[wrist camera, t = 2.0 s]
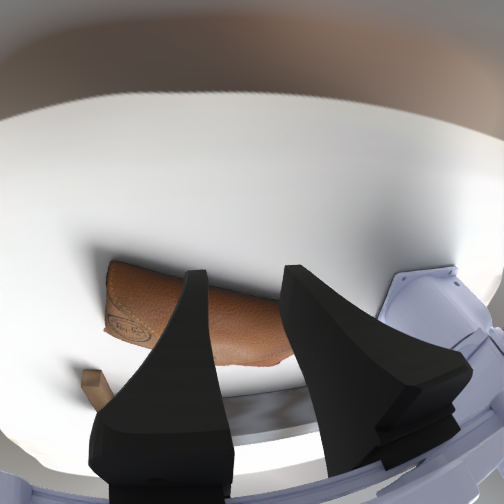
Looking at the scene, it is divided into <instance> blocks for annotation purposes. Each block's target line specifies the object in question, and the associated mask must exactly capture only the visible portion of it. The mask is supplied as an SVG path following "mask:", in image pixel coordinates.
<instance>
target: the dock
mask: <svg viewBox="0 0 504 504" xmlns="http://www.w3.org/2000/svg"><path fill="white" fill-rule="evenodd" d="M81 387H82V389H83V391H84V392H85V394H86V396H87V397H88V399H89V401H90V402H91V404H92V405H93V407H94V409H95V410H96V412H98V411H100V410H101V409H102V408H103V407H104V406H105V405H106V404H107V403H108V402H109V401H110V400H111V399H112V398H113V397H114V395H113V393H112V391H111V389H110V387H109V385H108V383H107V381H106V379H105V377H104V374H103V372H102V371H97V370H84V371H83V376H82V382H81ZM222 400H223V404H224V408H225V412H226V416H227V420H228V423H229V427H230V431H231V437H232V442H233V446H240V445H248V444H255V443H261V442H267V441H273V440H279V439H284V438H289V437H294V436H299V435H304V434H308V433H313V432H317V431H319V427H318V423H317V419H316V415H315V411H314V408H313V404H312V401H311V397H310V394H309V390H308V387H307V386H306V387H300V388H295V389H289V390H283V391H276V392H270V393H262V394H255V395H247V396H238V397H229V398H222Z"/></svg>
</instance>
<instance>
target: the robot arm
mask: <svg viewBox="0 0 504 504" xmlns="http://www.w3.org/2000/svg"><path fill="white" fill-rule="evenodd" d="M457 272H458V268H457V267H456V266H454V267H446V268H437V269H429V270H420V271H411V272H402V273H398V274H396V275H395V277H394V279H393V282H392V284H391V287H390V290H389V292H388V295H387V297H386V300H385V302H384V305H383V307H382V310H381V312H380V314H379V317H378V319H376V318H374V317H372V316H370V315H369V314H367V313H366V312H364V311H362V310H361V309H359V308H358V307H356V306H355V305H353V304H352V303H351V302H349V301H348V300H346V299H345V298H343V297H342V296H341V295H339V294H338V293H337V292H335V291H334V290H333V289H332V288H330V287H329V286H328V285H326V284H325V283H324V282H323V281H321V280H320V279H319V278H318V277H316V276H315V275H314V274H312V273H311V272H310V271H309V270H307V269H306V268H305V267H303V266H302V265H285V268H284V275H283V281H282V287H281V294H280V300H279V306H278V308H279V312H280V316H281V320H282V324H283V327H284V331H285V333H286V336H287V338H288V340H289V343H290V345H291V348H292V350H293V352H294V355H295V357H296V359H297V362H298V364H299V366H300V369H301V371H302V373H303V376H304V378H305V381H306V384H307V387H308V390H309V394H310V397H311V401H312V404H313V408H314V411H315V415H316V419H317V423H318V427H319V431H320V436H321V440H322V445H323V450H324V455H325V461H326V466H327V472H328V478H327V479H324V480H320V481H317V482H313V483H309V484H305V485H301V486H297V487H293V488H288V489H283V490H278V491H273V492H268V493H263V494H257V495H250V496H243V497H235V498H231V497H230V493H231V484H232V481H233V468H234V456H235V453H234V447H233V442H232V437H231V431H230V427H229V423H228V420H227V416H226V412H225V408H224V404H223V400H222V396H221V391H220V387H219V382H218V377H217V373H216V368H215V363H214V357H213V352H212V346H211V340H210V334H209V296H208V277H207V272H206V270H189V271H188V272H187V273H186V276H185V281H184V285H183V288H182V291H181V294H180V297H179V299H178V302H177V304H176V307H175V309H174V311H173V313H172V315H171V317H170V319H169V321H168V323H167V325H166V327H165V329H164V331H163V333H162V335H161V336H160V338H159V340H158V341H157V343H156V345H155V346H154V348H153V349H152V351H151V352H150V353H149V355H148V356H147V358H146V359H145V361H144V362H143V363H142V365H141V366H140V367H139V369H138V370H137V371H136V372H135V374H134V375H133V376H132V377H131V378H130V379H129V381H128V382H127V383H126V384H125V385H124V386H123V388H122V389H121V390H120V391H119V392H118V393H117V394H116V395H115V396H114V397H113V398H112V399H111V400H110V401H109V402H108V403H107V404H106V405H105V406H104V407H103V408H102V409H101V410H100V411H98V412H97V414H96V417H95V420H94V423H93V427H92V431H91V435H90V440H89V460H88V465H89V467H90V468H91V469H92V470H93V471H94V473H96V474H97V475H98V476H99V477H100V478H102V479H103V480H104V481H106V482H107V483H108V484H109V499H105V498H96V497H89V496H82V495H76V494H70V493H65V492H60V491H55V490H50V489H46V488H42V487H38V486H34V485H31V484H30V483H29V482H28V481H26V480H25V479H23V478H21V477H19V476H17V475H15V474H12V473H9V472H6V471H3V470H0V504H320V503H323V502H326V501H330V500H333V499H336V498H339V497H342V496H345V495H348V494H351V493H354V492H357V491H359V490H362V489H364V488H367V487H370V486H372V485H375V484H377V483H380V482H382V481H384V480H387V479H389V478H391V477H393V476H396V475H398V474H400V473H402V472H404V471H406V470H408V469H410V468H413V467H414V466H416V468H414V469H412V470H411V471H409V472H407V473H405V474H403V475H402V476H401V477H400V478H399V479H397V480H396V481H395V482H393V483H391V484H390V485H388V486H387V487H385V488H383V489H381V490H380V491H378V492H377V494H376V495H377V498H375V499H372V500H370V501H367V502H365V503H362V504H472V503H473V502H474V501H475V500H477V498H478V497H479V494H480V490H479V488H478V486H477V485H478V484H479V483H481V482H482V481H483V480H484V479H485V478H486V477H487V476H488V475H489V474H490V473H491V472H492V471H493V470H495V468H497V469H498V471H499V472H500V474H501V475H502V477H503V479H504V332H503V330H502V329H500V327H495V328H494V327H493V326H492V319H491V316H490V313H489V311H488V309H487V308H486V306H485V305H484V304H483V303H482V302H481V301H480V300H479V299H478V298H477V297H476V296H475V295H474V294H473V293H472V292H471V291H470V290H469V289H468V288H467V287H466V286H465V285H464V284H463V283H462V282H461V281H460V280H459V279H458V278H457V277H456V275H457Z"/></svg>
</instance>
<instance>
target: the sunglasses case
mask: <svg viewBox="0 0 504 504" xmlns="http://www.w3.org/2000/svg"><path fill="white" fill-rule="evenodd" d="M184 281H185V279H181V278H177V277H173V276H169V275H165V274H161V273H158V272H154V271H151V270H148V269H145V268H141V267H137V266H133V265H129V264H126V263H123V262H118V261H110V264H109V267H108V271H107V275H106V288H107V293H106V294H107V300H106V309H105V326H106V328H104V332H107V333H108V334H110V335H112V336H113V337H115V338H117V339H121V340H122V341H125V342H128V343H131V344H135V345H138V346H141V347H145V348H148V349H153V348H154V346H155V345H156V343H157V341H158V340H159V338H160V336H161V335H162V333H163V331H164V329H165V327H166V325H167V323H168V321H169V319H170V317H171V315H172V313H173V311H174V309H175V307H176V304H177V302H178V299H179V297H180V294H181V291H182V288H183V285H184ZM208 296H209V334H210V340H211V346H212V352H213V357H214V363H215V365H216V366H225V365H243V366H258V367H261V366H262V367H270V366H275V365H277V364H279V363H280V362H281V361H282V360H284V359H286V358H288V357H289V356H291V355H293V354H294V352H293V350H292V348H291V345H290V343H289V340H288V338H287V336H286V333H285V331H284V327H283V324H282V320H281V316H280V312H279V308H278V306H279V301H277V300H273V299H266V298H260V297H255V296H252V295H247V294H242V293H239V292H235V291H230V290H226V289H221V288H217V287H212V286H208Z"/></svg>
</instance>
